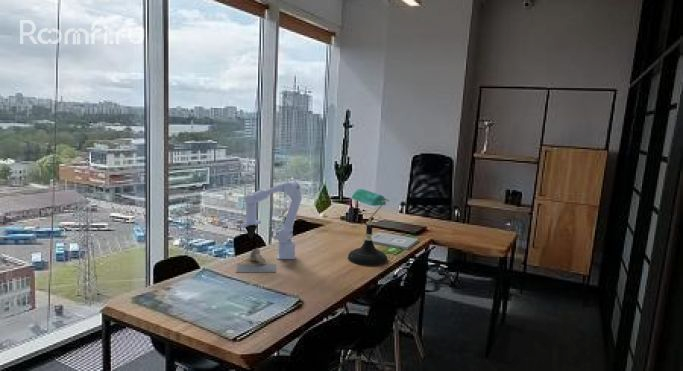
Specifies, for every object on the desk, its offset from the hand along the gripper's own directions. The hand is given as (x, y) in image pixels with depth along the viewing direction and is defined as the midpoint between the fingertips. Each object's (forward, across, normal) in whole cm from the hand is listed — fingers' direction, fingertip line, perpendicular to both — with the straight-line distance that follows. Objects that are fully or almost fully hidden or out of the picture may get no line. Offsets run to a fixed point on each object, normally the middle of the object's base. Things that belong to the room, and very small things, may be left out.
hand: (250, 237), depth 251 cm
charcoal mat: (+9, +17, +21) cm, 29 cm away
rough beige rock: (+9, +9, +14) cm, 19 cm away
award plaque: (+10, -81, +52) cm, 97 cm away
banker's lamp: (+10, -36, +58) cm, 69 cm away
